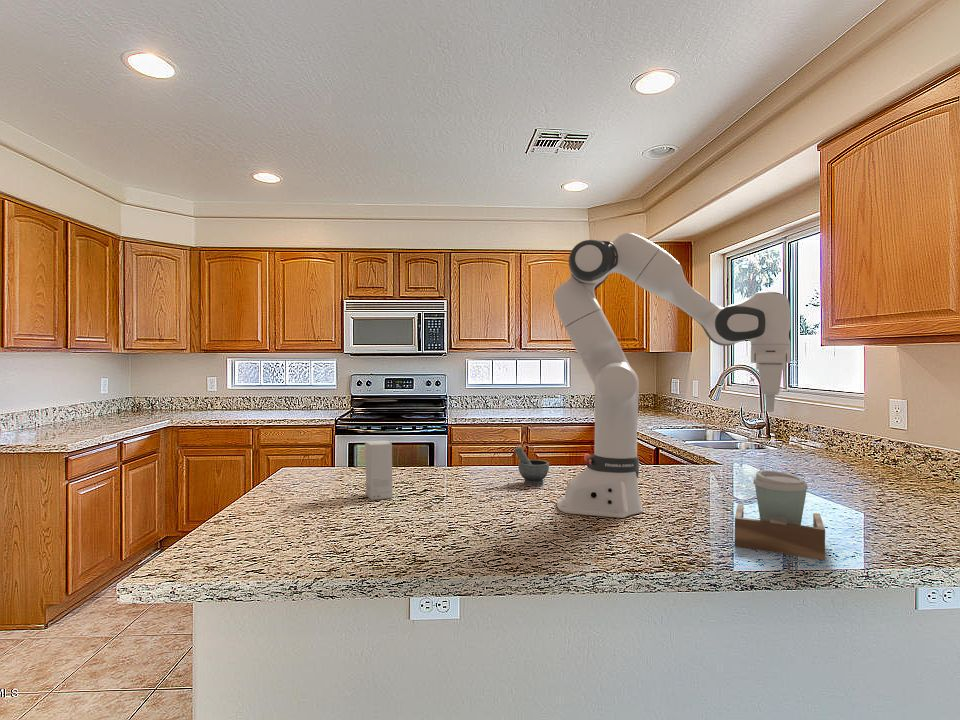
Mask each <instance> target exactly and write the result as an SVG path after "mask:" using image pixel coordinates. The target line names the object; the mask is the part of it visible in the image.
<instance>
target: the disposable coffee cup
mask: <svg viewBox="0 0 960 720" xmlns="http://www.w3.org/2000/svg"><path fill="white" fill-rule="evenodd" d="M752 484H753V485H754V487H755V494H756V500H757V501H756V502H757V507H758V512H759V514H758V515H759V520H763V521H770V516H776V517H784V518H787V524H795V525H802V519H803V514H804V507H805V501H806V496H807V490H809V489H808V483H807V481H806V480H805V479H804V478H803V477H800V476H798V475H795V474H792V473H788V472H787V473H786V472H783V471H776V470H765V469H763V470H758V471H756V472H755V476H754V477H753V481H752Z"/></svg>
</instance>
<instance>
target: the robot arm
mask: <svg viewBox="0 0 960 720" xmlns="http://www.w3.org/2000/svg"><path fill="white" fill-rule="evenodd" d="M568 267H569V272H570V276H569V278H568V279H567V281H564V282H563V283H561V284H560V285H558V287H557V288H556V289H555V291H554V294H553V299H554V300H553V301H554V303H555V304H554V305H555V307H556V309H557V313H558V316H559V319H560V320H561V323H562V326H563V327H564V329H565V331H566V333H567V335H568V336H569V339H570V341H571V344H572V345H573V347H574V349H575V350H576V352H577V355H578V357H579V359H580V360H581V363H582V364H583V366H584V367H585V370H586V371H587V373H588V375H589V377H590V379H591V382H592V383H593V385H594V453H593V454H591V455H590V453H585V454H584V455H583V459H584V462H586V468H585V469H584V470H582V471H581V472H580V473H578V474H577V475H575V476H574V477H572V478H571V479H570V480H569V481H568V483H567V485H566V488H565V492H564V493H565V494H564V496H561V497H559V498H557V502H556V507H557V509H558V510H559V511H561V512H563V513H565V514H570V515H571V514H573V515H584V516H586V515H587V516H598V517H608V518H620V519H623V518H626V517H628V516H632V515H637V514H640V513H642V512H643V511H644V508H643V505H642V502H641V501H642V500H641V495H640V492H639V491H640V490H639V481H638V478H639V474H640V460H639V456H638V422H639V421H638V418H639V399H640V398H639V397H640V394H639V391H640V380H639V376H638V374H637V373H636V371H635V370H634V369H633V368H632V367H631V365H630V363H629V361H628V358H627V357H626V354H625V353H624V350H623V349H622V346H621V345H620V342H619V340H618V338H617V336H616V333H615V332H614V330H613V328H612V326H611V324H610V322H609V321H608V318H607V317H606V315H605V313H604V311H603V309H602V307H601V305H600V303H599V301H598V299H597V297H596V294H595V291H596V290H597V289H598V288H599V287H600V286H601V285H602V284H604V283H605V281H606V280H607V279H608V277H609V276H610V274H619V275H622V276H624V277H626V278H628V279H629V280H630V281H631V282H632V283H634V284H636V285H637V286H639V287H640V288H642V289H643V290H645V291H647V292H649V293H650V294H653V295H655V296H657V297H658V298H660V299H663V300H665V301H666V302H669V303H670V304H672V305H674V306H676V307H677V308H678V309H680V310H681V311H682V312H684V313H685V314H686V315H688V316H689V317H690V318H692V319H693V320H694V321H696V322H697V323H698V324H699V325H700V326H701V327H702V329H703V330H704V333H705V334H706V337H708V339H709V340H710V341H712V342H713V343H714V344H716V345H718V346H721V347H722V346H724V347H726V346H727V347H728V346H732V345H735V344H738V343H741V342H744V341H749V342H750V363H751V364H755V366H756V368H755V369H756V370H758V376H759V383H760V390H761V395H764V400H765V412H767V413H773V412H774V411H775V401H776V400H775V399H776V398H775V397H776V396H778V395H780V394H779V393H780V389H781V382H782V377H783V376H782V375H783V371H785V365H786V364H791V354H792V353H791V349H792V348H791V345H792V344H791V343H792V342H791V340H790V330H791V326H792V319H791V318H792V316H791V306H790V301H789V298H788V296H786V295H785V294H783V293H780V292H776V291H771V290H770V291H766V290H765V291H764V290H761V291H757V292H755V293H754V294H752V295H751V296H749V297H747V298H745V299H744V300H741V301H739V302H735V303H733V304H731V305H726V306H724V307H722V306H720V305H719V306H718V305H716V304H715V303H714V302H712V301H710V300H709V299H708V298H707V297H705V296H704V295H702V294H701V293H699V291H697V290H695V289H694V288H693V287H692V286H691V285H690V284H689V282H688V281H687V278H686V277H685V274H684V271H683V267H682V265H681V264H680V262H679V261H678V260H676V258H674V256H673V255H671V253H669V252H667V250H664V248H662V247H660V246H659V245H657V244H655V242H652V241H650V240H649V239H647V238H645V237H643V236H640V235H638V234H636V233H633V232H624V233H621V234H620V235H618V236H617V237H616V238H614V240H613V241H610V240H599V239H598V240H597V239H585V240H582V241H580V242H579V243H576V245H574V247H573V248H572V249H571V251H570V253H569V256H568Z"/></svg>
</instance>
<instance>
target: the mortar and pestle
mask: <svg viewBox="0 0 960 720" xmlns="http://www.w3.org/2000/svg"><path fill="white" fill-rule="evenodd" d="M523 449H524V448H523V446H521V445H520V446H518V447H516V448H514V453H516V455H517V458H518V460H519V461H518V471H519V474H520V476H521V477H522V478H523V479H524V480H523V485H525V486H527V487H541V486H544V479H545V478H546V477H547V475H548V474H549V470H550V462H549V461H547V460H541V459H529V458H528V456H527V454H526V453H525V452H524V450H523Z"/></svg>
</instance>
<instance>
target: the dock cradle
mask: <svg viewBox="0 0 960 720" xmlns="http://www.w3.org/2000/svg"><path fill="white" fill-rule="evenodd" d="M812 517H813V518H812V520H813V521H812V524H813V525H812V526H809V525H808V526H807V525H802V524H801V525H795V524H787V518H784V517H776V516H770V521H763V520H760V519H754V518H746V517H744V504H741V503H740V504H739V503H738V504H737V507H736V511H735V515H734V547H737V548H744V549H749V548H750V549H751V550H757V551H763V552H771V553H778V554H783V555H791V556H795V557H803V558H808V559H816V560H821V561H822V560H823V561H825V560H826V528H825V526H824V523H823V520H822V516H821V513H815V512H813V516H812Z"/></svg>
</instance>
